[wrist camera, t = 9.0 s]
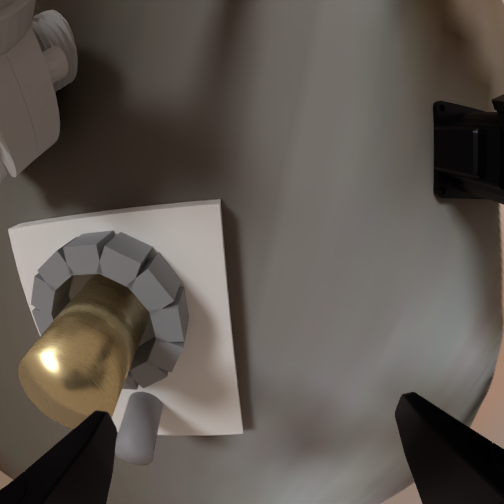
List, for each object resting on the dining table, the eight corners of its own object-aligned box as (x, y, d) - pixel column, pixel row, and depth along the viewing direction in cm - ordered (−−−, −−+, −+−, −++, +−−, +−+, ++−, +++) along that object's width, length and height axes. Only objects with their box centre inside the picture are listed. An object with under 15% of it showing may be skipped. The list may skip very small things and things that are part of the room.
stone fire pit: (220, 199, 17) (215, 228, 11) (242, 420, 23) (246, 484, 17) (20, 223, 17) (-41, 255, 10) (90, 416, 23) (70, 469, 16)
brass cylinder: (142, 269, 17) (89, 357, 9) (156, 336, 18) (126, 436, 11) (75, 274, 17) (3, 349, 9) (93, 336, 18) (44, 424, 10)
